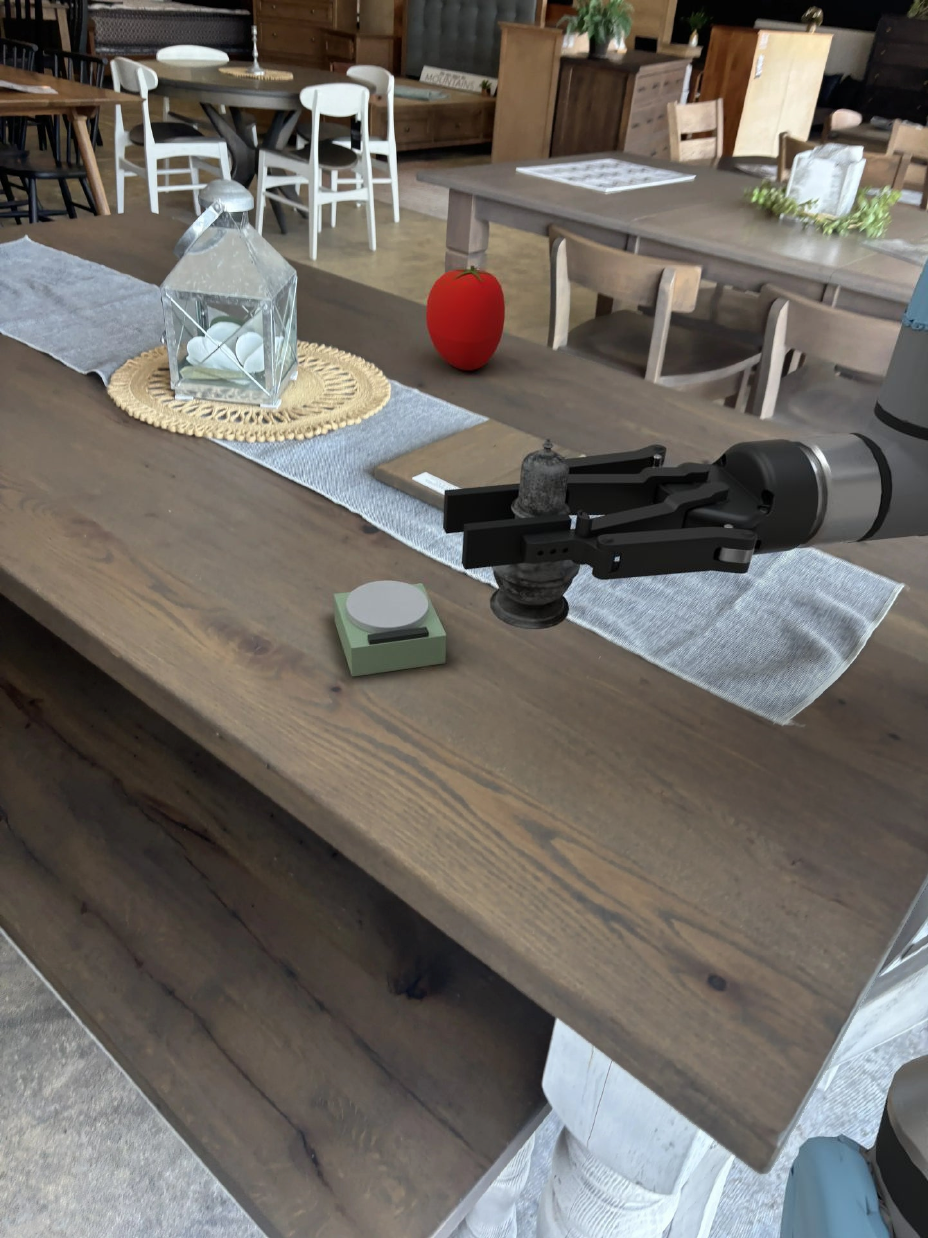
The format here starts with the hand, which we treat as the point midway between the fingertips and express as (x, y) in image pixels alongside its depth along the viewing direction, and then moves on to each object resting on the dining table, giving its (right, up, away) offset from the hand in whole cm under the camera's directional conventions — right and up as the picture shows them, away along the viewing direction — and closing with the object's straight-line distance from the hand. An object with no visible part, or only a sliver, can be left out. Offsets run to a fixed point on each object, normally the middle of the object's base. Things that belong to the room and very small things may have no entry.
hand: (455, 529), depth 55 cm
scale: (-6, -7, +24) cm, 26 cm away
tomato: (0, +32, +80) cm, 86 cm away
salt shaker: (+5, -5, +5) cm, 9 cm away
